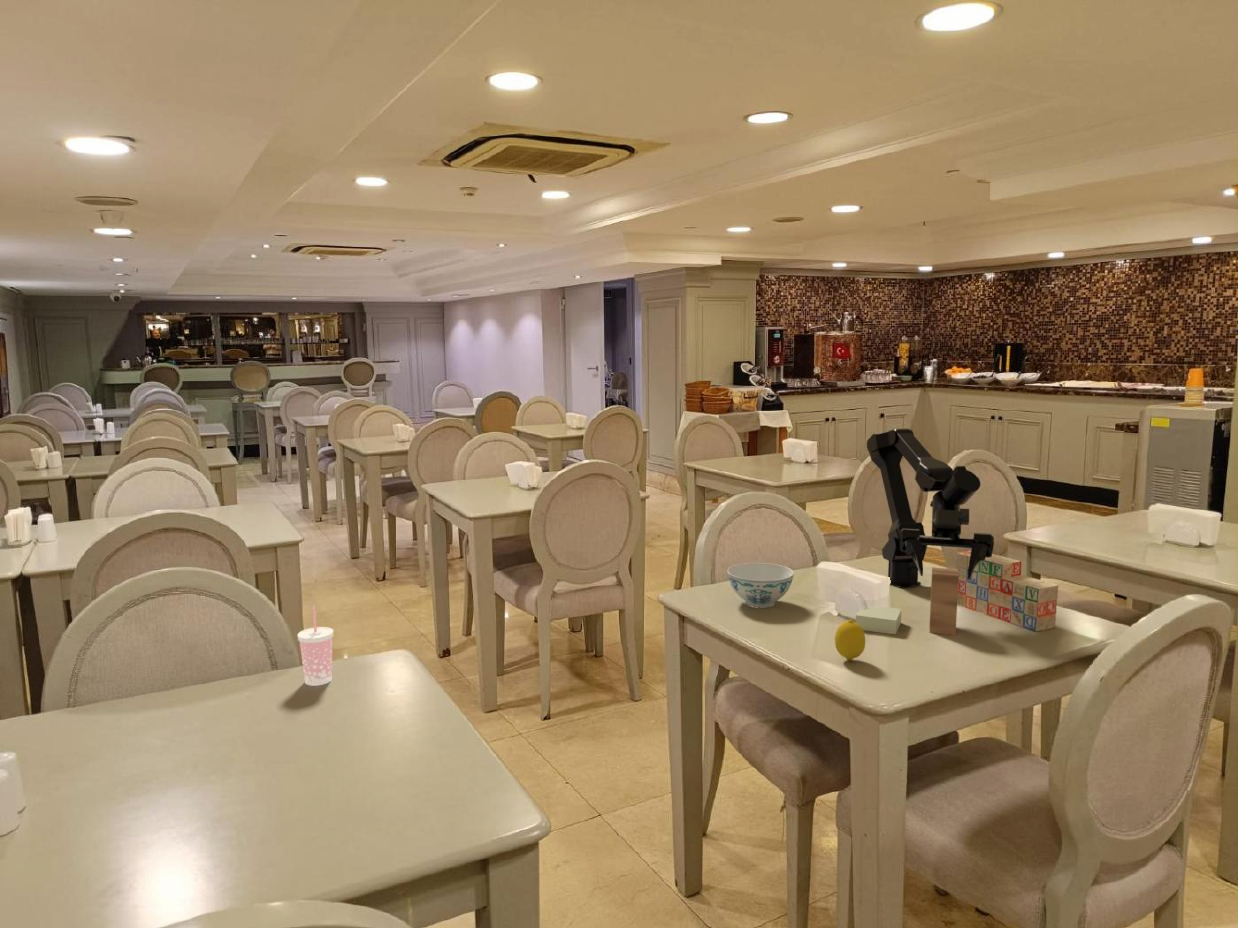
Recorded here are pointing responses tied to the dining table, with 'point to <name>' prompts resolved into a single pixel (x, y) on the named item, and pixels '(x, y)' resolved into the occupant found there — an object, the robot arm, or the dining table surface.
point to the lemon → (850, 640)
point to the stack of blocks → (1006, 592)
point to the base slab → (880, 619)
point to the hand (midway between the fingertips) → (945, 576)
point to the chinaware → (760, 582)
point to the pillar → (944, 600)
